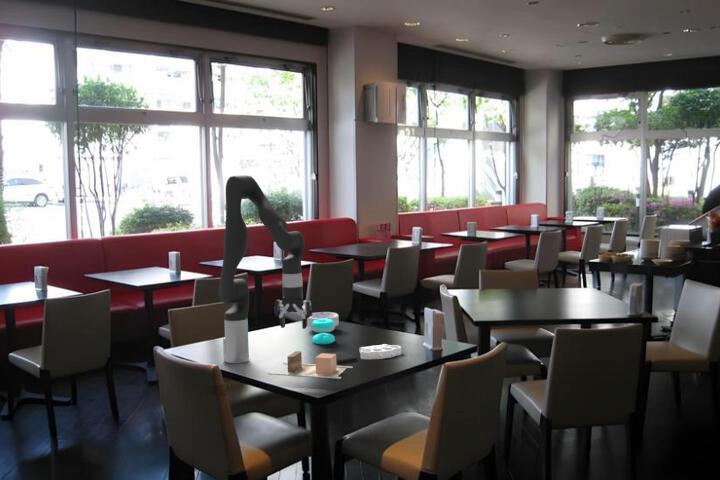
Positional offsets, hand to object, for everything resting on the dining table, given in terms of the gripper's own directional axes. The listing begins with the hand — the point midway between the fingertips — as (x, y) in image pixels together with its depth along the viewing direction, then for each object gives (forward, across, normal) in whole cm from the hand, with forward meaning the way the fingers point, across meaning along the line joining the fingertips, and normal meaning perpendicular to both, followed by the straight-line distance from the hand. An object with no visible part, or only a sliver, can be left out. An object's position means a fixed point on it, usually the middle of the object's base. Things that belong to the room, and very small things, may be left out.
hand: (293, 327), depth 245 cm
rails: (+17, +6, 0) cm, 18 cm away
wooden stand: (+17, +8, 0) cm, 19 cm away
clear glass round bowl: (+17, -14, +70) cm, 73 cm away
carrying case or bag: (+18, +12, +19) cm, 29 cm away
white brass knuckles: (+18, +24, +32) cm, 44 cm away
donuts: (+17, -6, +48) cm, 51 cm away
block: (+16, +12, 0) cm, 20 cm away
